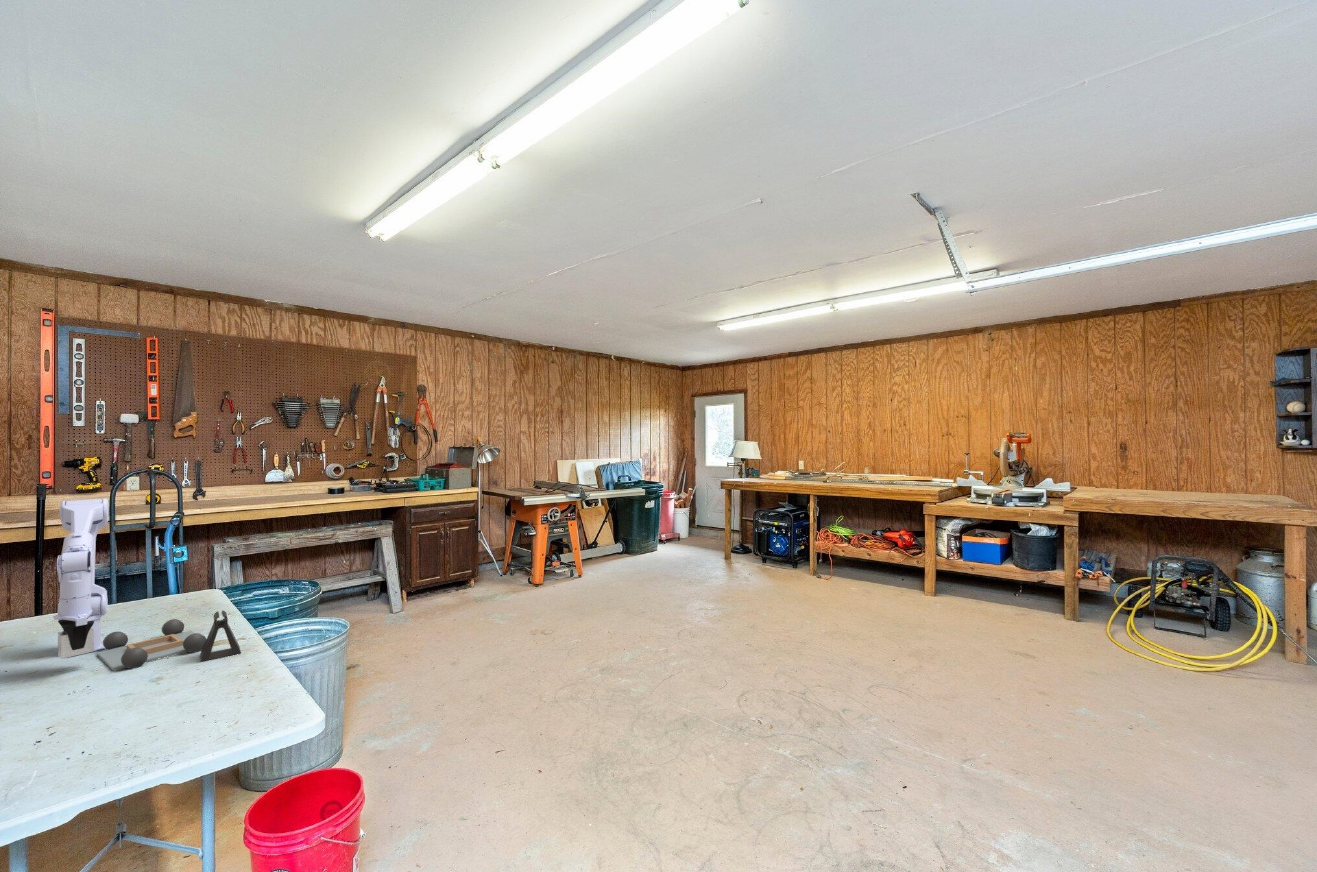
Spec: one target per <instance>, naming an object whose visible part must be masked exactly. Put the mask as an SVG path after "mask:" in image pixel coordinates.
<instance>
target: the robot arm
mask: <svg viewBox="0 0 1317 872" xmlns="http://www.w3.org/2000/svg"><path fill="white" fill-rule="evenodd" d="M109 505H110V504H109V500H108V499H107V498H106V497H103V498H96V499H95V498H94V499H78V500H77V499H75V500H67V499H66V500H62V501H61V502H60V504H59V519H60V522H61V527H63V530H64V531H68V532H70V533H68V534H67V535H66V536H65V537H64V539H63V545H62V548H61V549H62V550H61V555H60V554H59V555H58V556H57V558H56V570H57V571H56V572H57V575H58V582H59V597H58V603H57V604H58V605H57V615H54V616H53V620H58V621H57V622H58V624H59V625H60V626H61V629H62V631H66V632H67V634H68V637H69V640H70V645H71V648H72V650H77V649H81V648H84V646H85V643H86V639H87V635H88V633H89V630H90V629H91V627H92V628H93V629H94V651H93V652H96V651H101V650H105V649H106V648H105V647H104V646H103V642H102V616H103V617H104V616H105V615H106V614H107V613H108V602H109V601H108V590H107V589H106V588H105V587H103V586H100V585H98V584H95V578H96V577H95V576H96V575H95V574H96V570H95V569H96V541H97V535H98V534H99V531H100V530H101V529H103V528H105V527H108V525H107V524H108V523H109V518H108V517H109V512H110V511H109V509H110V508H109V507H110V506H109Z"/></svg>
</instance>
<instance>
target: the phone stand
mask: <svg viewBox="0 0 1317 872" xmlns="http://www.w3.org/2000/svg"><path fill="white" fill-rule="evenodd" d="M221 613H222V617H223V619H220V620H219V618H220V612H219V610H218V611H216V612H215V613H214V614H213V623H212V626H211V628H210V631H209V633H208V636H207V637H206V642H205V644H204V646H203V649H202V650H200V651H201V652H200V653H199V655H200V657H199V659H200V662H201V663H204V662H208V661H209V660H210V661H213V660H218V658H219V659H221V658H222V659H223V658H228V656H229V657H233V655H234V656H237V654H238V655H241V654H242V650H241V647H240V646H241V645H239V642H238V640H237V639H236V637H235V634H234V633H233V630H232V628H231V627H230V625H229V622H228V621H229V619H228V614H227V612H226V611H225V610H223V609H222V610H221ZM220 629H223V630H224V632H225V635H226V638H227V640H228V644H229V646H230V648H225V649H221V650H216V651H212V650H213V647H214V645H215V640H216V637H217V634H218V631H219V630H220Z"/></svg>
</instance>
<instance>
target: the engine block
mask: <svg viewBox="0 0 1317 872" xmlns="http://www.w3.org/2000/svg"><path fill="white" fill-rule="evenodd" d="M92 652H95V651H94V629H93V628H92V627H91V629H90V630H89V633H88V635H87V639H86V643H85V646H84V648H81V649H77V650H72V648H71V645H70V640H69V637H68V634H67V632H66V631H64V630H61V631H58V632H57V655H58V657H59V658H60V659H68V658H70V657H76V656H80V655H83V654H87V653H89V654H90V653H92Z"/></svg>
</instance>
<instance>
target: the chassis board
mask: <svg viewBox="0 0 1317 872" xmlns="http://www.w3.org/2000/svg"><path fill="white" fill-rule="evenodd" d="M184 629H185V624H184V622H183V621H181V620H180V619H177V618H176V619H175V618H174V619H173V618H172V619H170V620H167V621H166V622H164V623H163V625H162V627H161V633H162V635H163V636H159V637H155V638H150V639H147V640H141V641H137V642H133V643H129V644H128V641H129V638H128V636H127V634H126V633H124V632H122V631H114V632H113V631H112V632H110V633H108V634H107V635H106V636H105V637H104V638H103V640H102V644H103V646H104V647H105V649H106V650H105V649H104V650H102V651H101V650H100V651H98V652H97V653H96V655H97V657H98V658H100V660H101V661H102V662H103V663H104V662H105V665H106V666H107V667H109V668H110V670H111V671H112V672H115V671H119V670H122V669H126V668H127V669H137V668H140V667H142V666H143V665H144V664H145V662H147V663H150V662H149V661H151V662H153V661H152V660H155V661H157V660H156V659H158V658H162V659H165V658H164V657H166V658H168V657H167V656H170V657H173V656H172V655H174V656H176V655H175V654H178V655H181V653H182V654H186V653H192V654H193V653H199V652H200V651H202V649H203V646H204V644H205V642H206V639H207V637H206V636H205V635H203V634H201V633H199V632H196V633H195V632H194V631H192V630H186V631H184ZM158 660H159V659H158Z"/></svg>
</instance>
